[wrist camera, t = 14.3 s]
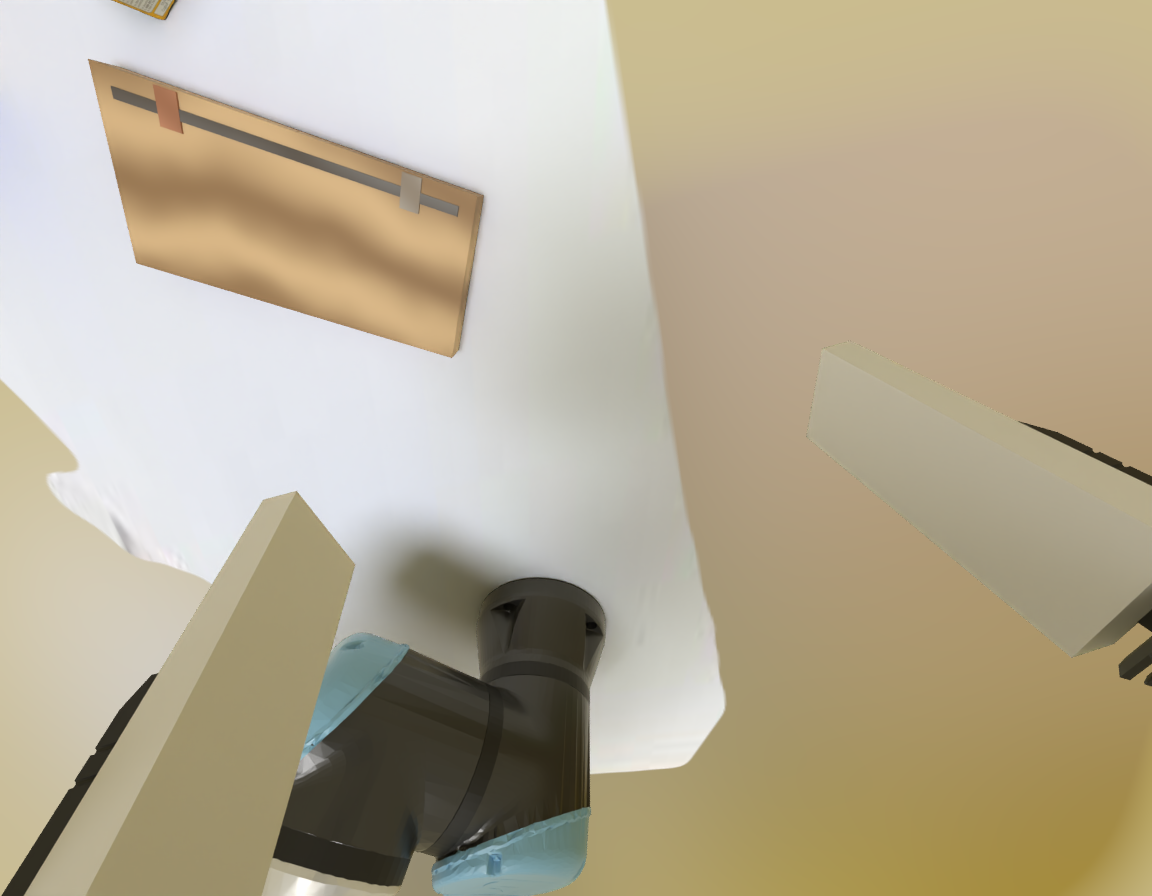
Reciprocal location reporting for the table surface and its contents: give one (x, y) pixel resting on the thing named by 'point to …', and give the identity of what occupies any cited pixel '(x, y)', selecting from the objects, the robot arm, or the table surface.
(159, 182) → the oak board
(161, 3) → the crayon box
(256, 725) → the robot arm
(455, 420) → the table surface
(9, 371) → the table surface
